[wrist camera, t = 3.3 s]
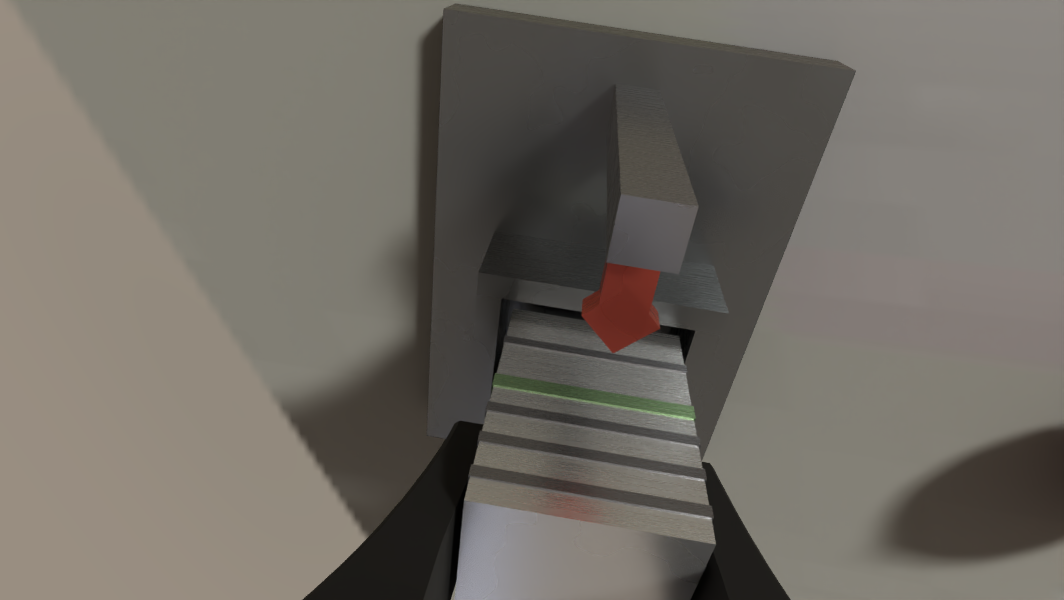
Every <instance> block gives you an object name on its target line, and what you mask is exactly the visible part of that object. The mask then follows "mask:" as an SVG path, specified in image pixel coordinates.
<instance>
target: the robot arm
mask: <svg viewBox="0 0 1064 600" xmlns="http://www.w3.org/2000/svg"><path fill="white" fill-rule="evenodd" d="M483 425H484V424H478V423H472V422H466V421H458V422H456V423H454V425H453V427H452V429H451V431H450V433H449V434H448V436H447V438H446V439H445V441H444V443H443V444H442V446H441V447H440V449H439V450H438V452H437V453H436V455H435V456H434V458H433V459H432V461H431V462H430V463H429V465H428V466H427V468H426V469H425V470H424V472H423V473H422V474H421V476H420V477H419V478H418V479H417V481H416V482H415V483H414V485H413V486H412V487H411V489H410V490H409V491H408V492H407V494H406V495H405V496H404V497H403V499H402V500H401V501H400V502H399V503H398V504H397V506H396V507H395V508H394V509H393V510H392V511H391V513H390V514H389V515H388V516H387V517H386V518H385V519H384V521H383V522H382V523H381V524H380V525H379V526H378V527H377V529H376V530H375V531H374V532H373V533H372V534H371V535H370V536H369V537H368V538H367V539H366V540H365V541H364V542H363V543H362V544H361V545H360V547H359V548H358V549H357V550H356V551H355V552H354V553H353V554H351V555H350V556H349V557H348V558H347V560H345V562H343V563H342V564H341V565H340V566H339V567H338V568H337V569H336V570H335V571H334V572H333V573H332V574H331V575H329V576H328V577H327V578H326V579H325V580H324V581H323V582H322V583H321V584H320V585H318V586H317V587H316V588H315V589H314V590H313V591H312V592H311V593H310V594H308V595H307V596H306V597H305V598H304V599H303V600H451V597H452V593H453V590H454V587H455V584H456V581H457V570H458V560H459V549H460V538H461V527H462V517H463V506H464V498H465V495H466V491H467V485H468V475H469V471H470V467H471V464H474V460H475V456H476V451H477V441H478V437H479V433H480V431H482V429H483ZM702 468H703V469H705V472H706V477H707V481H706V483H705V485H706V490H707V496H708V502H709V506H712V510H713V516H714V519H713V521H712V524H713V530H714V536H715V541H716V546H715V548H714V550H713V552H712V554H711V556H710V559H709V561H708V563H707V565H706V567H705V569H704V571H703V574H702V576H701V578H700V580H699V582H698V584H697V587H696V589H695V591H694V593H693V595H692V597H691V599H690V600H790V598H789V597H788V595H787V594H786V592H785V591H784V589H783V588H782V586H781V585H780V583H779V582H778V580H777V579H776V577H775V575H774V574H773V572H772V571H771V569H770V568H769V566H768V564H767V563H766V561H765V559H764V558H763V556H762V555H761V553H760V551H759V550H758V548H757V546H756V545H755V543H754V541H753V540H752V538H751V536H750V535H749V533H748V531H747V529H746V528H745V526H744V524H743V522H742V521H741V519H740V517H739V515H738V513H737V512H736V510H735V508H734V506H733V504H732V502H731V501H730V499H729V497H728V495H727V493H726V491H725V489H724V487H723V486H722V484H721V482H720V480H719V478H718V476H717V474H716V472H715V470H714V468H713V467H712V465H711V464H710V463H706V462H702Z"/></svg>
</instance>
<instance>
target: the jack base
mask: <svg viewBox="0 0 1064 600" xmlns="http://www.w3.org/2000/svg"><path fill="white" fill-rule="evenodd" d="M855 72H856V71H855V70H853V69H851V68H849V67H848V66H846V65H844V64H842V63H840V62H838V61H833V60H827V59H820V58H813V57H807V56H800V55H793V54H787V53H780V52H773V51H767V50H760V49H754V48H747V47H740V46H734V45H727V44H720V43H714V42H707V41H700V40H694V39H687V38H680V37H674V36H667V35H661V34H654V33H647V32H641V31H634V30H627V29H621V28H614V27H607V26H601V25H594V24H587V23H581V22H574V21H568V20H561V19H554V18H548V17H541V16H534V15H528V14H521V13H514V12H508V11H501V10H494V9H488V8H481V7H475V6H468V5H461V4H454V5H451V6H449V7H447V8H444V10H443V36H442V61H441V86H440V112H439V137H438V163H437V188H436V213H435V239H434V264H433V290H432V315H431V340H430V366H429V391H428V416H427V436H433V437H438V438H444V439H446V438H447V436H448V434H449V433H450V431H451V429H452V427H453V425H454V423H456V422H458V421H466V422H472V423H478V424H484V420H485V411H486V406H487V402H488V401H490V398H491V391H492V383H493V379H494V376H495V373H497V370H498V367H499V363H500V359H501V355H502V349H503V341H504V337H505V336H507V332H508V328H509V324H510V320H511V316H512V312H513V309H519V310H525V311H531V312H537V313H543V314H549V315H555V316H561V317H567V318H573V319H579V320H585V321H586V322H587V323H588V324H589V325H590V327H591V328H592V329H593V330H594V331H595V333H596V334H597V335H598V336H599V337H600V339H601V340H602V341H603V342H604V343H605V345H606V346H607V347H608V348H609V349H610V351H611V352H612V353H615V352H617V351H619V350H621V349H623V348H624V347H626V346H628V345H630V344H632V343H634V342H636V341H638V340H640V339H642V338H643V337H645V336H647V335H649V334H651V333H653V332H658V333H664V334H670V335H676V336H679V338H680V344H681V350H682V355H683V361H684V365H685V366H686V367H687V375H686V378H687V383H688V389H689V395H690V400H691V406H694V411H695V417H696V420H695V422H694V423H695V428H696V434H697V437H699V439H700V444H701V447H700V450H699V451H700V457H701V461H702V459H703V456H704V454H705V451H706V449H707V446H708V444H709V441H710V439H711V436H712V434H713V431H714V429H715V426H716V424H717V421H718V419H719V416H720V413H721V411H722V408H723V406H724V403H725V401H726V398H727V396H728V393H729V391H730V388H731V386H732V383H733V381H734V378H735V376H736V373H737V371H738V368H739V365H740V363H741V360H742V358H743V355H744V353H745V350H746V348H747V345H748V343H749V340H750V338H751V335H752V333H753V330H754V328H755V325H756V322H757V320H758V317H759V315H760V312H761V310H762V307H763V305H764V302H765V300H766V297H767V295H768V292H769V290H770V287H771V285H772V282H773V280H774V277H775V274H776V272H777V269H778V267H779V264H780V262H781V259H782V257H783V254H784V252H785V249H786V247H787V244H788V242H789V239H790V237H791V234H792V232H793V229H794V226H795V224H796V221H797V219H798V216H799V214H800V211H801V209H802V206H803V204H804V201H805V199H806V196H807V194H808V191H809V189H810V186H811V183H812V181H813V178H814V176H815V173H816V171H817V168H818V166H819V163H820V161H821V158H822V156H823V153H824V151H825V148H826V146H827V143H828V141H829V138H830V135H831V133H832V130H833V128H834V125H835V123H836V120H837V118H838V115H839V113H840V110H841V108H842V105H843V103H844V100H845V98H846V95H847V93H848V90H849V87H850V85H851V82H852V80H853V77H854V75H855Z"/></svg>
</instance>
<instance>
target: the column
mask: <svg viewBox="0 0 1064 600" xmlns="http://www.w3.org/2000/svg"><path fill="white" fill-rule="evenodd" d="M686 375H687V367H686V366H685V365H684V361H683V355H682V350H681V344H680V338H679V336H676V335H670V334H664V333H658V332H653V333H651V334H649V335H647V336H645V337H643V338H642V339H640V340H638V341H636V342H634V343H632V344H630V345H628V346H626V347H624V348H623V349H621V350H619V351H617V352H615V353H612V352H611V351H610V349H609V348H608V347H607V346H606V345H605V343H604V342H603V341H602V340H601V339H600V337H599V336H598V335H597V334H596V333H595V331H594V330H593V329H592V328H591V327H590V325H589V324H588V323H587V322H586V321H585V320H579V319H573V318H567V317H561V316H555V315H549V314H543V313H537V312H531V311H525V310H519V309H513V312H512V316H511V320H510V324H509V328H508V332H507V336H505V337H504V341H503V349H502V355H501V359H500V363H499V367H498V370H497V373H495V376H494V379H493V383H492V391H491V398H490V401H488V402H487V406H486V411H485V420H484V425H483V429H482V431H480V433H479V437H478V441H477V451H476V456H475V460H474V464H471V467H470V471H469V475H468V485H467V491H466V495H465V498H464V506H463V517H462V527H461V538H460V549H459V560H458V570H457V581H456V592H455V600H690V599H691V597H692V595H693V593H694V591H695V589H696V587H697V584H698V582H699V580H700V578H701V576H702V574H703V571H704V569H705V567H706V565H707V563H708V561H709V559H710V556H711V554H712V552H713V550H714V548H715V546H716V541H715V536H714V530H713V524H712V521H713V519H714V516H713V510H712V506H709V502H708V496H707V490H706V485H705V483H706V481H707V477H706V472H705V469H703V468H702V462H701V457H700V451H699V450H700V447H701V444H700V439H699V437H697V434H696V428H695V423H694V422H695V420H696V417H695V411H694V406H691V400H690V395H689V389H688V383H687V378H686Z"/></svg>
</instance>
